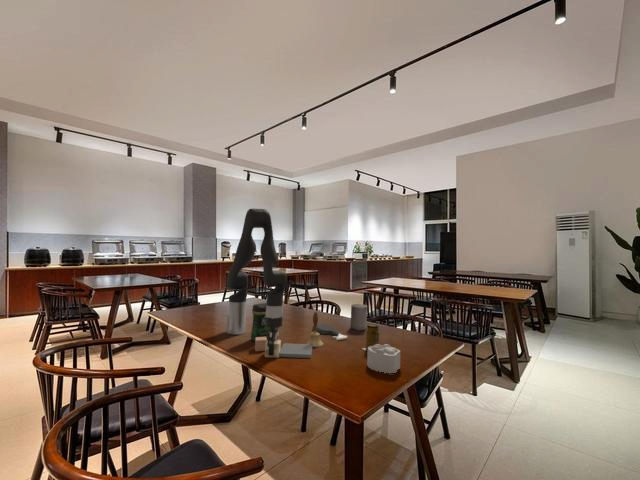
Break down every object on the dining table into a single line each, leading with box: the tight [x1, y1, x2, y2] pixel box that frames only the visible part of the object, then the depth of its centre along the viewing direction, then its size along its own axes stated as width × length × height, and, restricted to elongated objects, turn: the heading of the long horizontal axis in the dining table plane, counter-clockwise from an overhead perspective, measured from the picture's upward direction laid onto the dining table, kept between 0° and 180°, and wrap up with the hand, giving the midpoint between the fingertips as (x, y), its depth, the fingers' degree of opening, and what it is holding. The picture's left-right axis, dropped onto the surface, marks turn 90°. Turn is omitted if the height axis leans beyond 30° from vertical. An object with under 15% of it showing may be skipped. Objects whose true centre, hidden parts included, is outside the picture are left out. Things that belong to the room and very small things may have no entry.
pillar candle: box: [349, 303, 368, 331], centre depth 187 cm, size 10×10×15 cm
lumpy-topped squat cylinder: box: [366, 343, 401, 375], centre depth 127 cm, size 10×13×9 cm
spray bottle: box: [312, 323, 348, 341], centre depth 173 cm, size 3×11×24 cm
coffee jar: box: [250, 302, 270, 342], centre depth 159 cm, size 10×8×19 cm
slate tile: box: [279, 342, 313, 359], centre depth 142 cm, size 14×14×2 cm
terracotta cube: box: [254, 337, 267, 352], centre depth 145 cm, size 5×5×5 cm
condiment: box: [361, 323, 380, 353], centre depth 147 cm, size 7×8×12 cm
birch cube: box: [264, 339, 282, 359], centre depth 137 cm, size 6×6×6 cm
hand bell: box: [306, 311, 324, 348], centre depth 154 cm, size 8×8×16 cm
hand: (273, 351), depth 137 cm, fingers open, 8 cm apart
